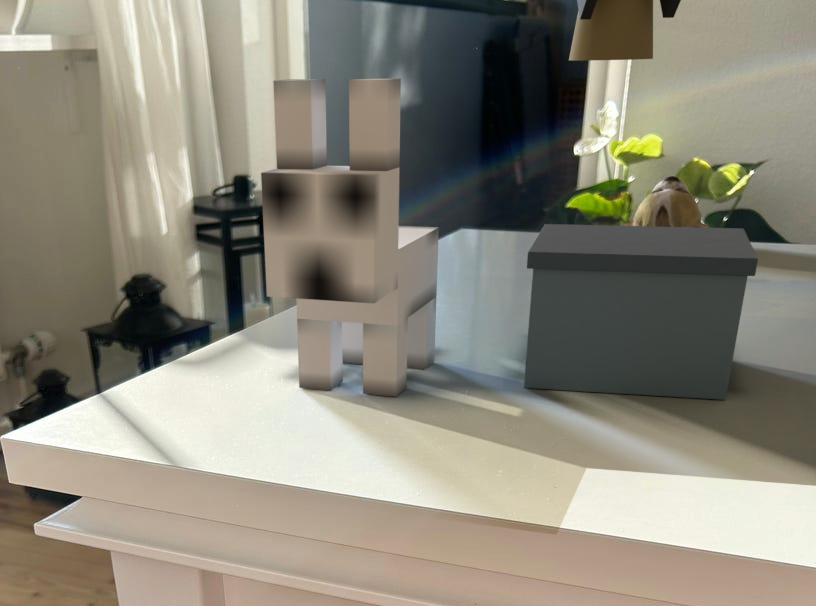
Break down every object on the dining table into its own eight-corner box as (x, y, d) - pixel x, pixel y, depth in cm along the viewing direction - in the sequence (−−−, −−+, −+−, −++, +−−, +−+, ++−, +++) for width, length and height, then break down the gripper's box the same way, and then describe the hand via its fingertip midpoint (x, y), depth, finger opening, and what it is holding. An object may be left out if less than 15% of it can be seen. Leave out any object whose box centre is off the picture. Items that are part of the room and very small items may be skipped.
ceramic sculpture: (722, 166, 120) (719, 189, 109) (711, 243, 125) (706, 273, 113) (629, 165, 124) (616, 188, 112) (622, 240, 128) (608, 270, 117)
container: (721, 355, 82) (744, 228, 77) (731, 402, 71) (758, 258, 66) (534, 345, 85) (544, 223, 80) (517, 389, 74) (527, 251, 70)
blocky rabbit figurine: (442, 353, 83) (453, 73, 73) (373, 417, 69) (374, 80, 59) (356, 346, 86) (354, 74, 76) (272, 407, 71) (256, 81, 61)
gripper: (689, -198, 80) (739, 44, 74) (459, -196, 79) (491, 49, 73) (728, -308, 73) (787, -51, 67) (476, -307, 72) (513, -46, 66)
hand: (633, 1), depth 70 cm, fingers closed on cork, 5 cm apart
